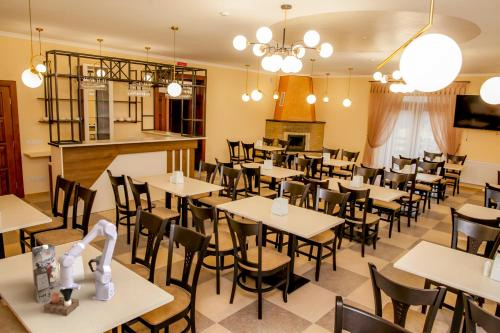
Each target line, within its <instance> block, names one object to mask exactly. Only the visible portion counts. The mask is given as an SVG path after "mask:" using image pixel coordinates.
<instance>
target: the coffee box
mask: <svg viewBox="0 0 500 333" xmlns="http://www.w3.org/2000/svg"><path fill="white" fill-rule="evenodd" d="M33 275H34V282H33V287H34V288H33V289H34V297H35V299H36V301H37V303H39V304H40V303H43V302H47V301H50V300H52V293H51V289H50V272H49V271H48V269H47V268H46V267H42V268H38V269H35V270H33V269H32V276H33Z"/></svg>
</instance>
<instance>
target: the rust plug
mask: <svg viewBox="0 0 500 333" xmlns="http://www.w3.org/2000/svg"><path fill="white" fill-rule="evenodd" d="M59 297H60V291H58V292H57V291H56V292H52V293H51V301H52V304H58V303H59Z"/></svg>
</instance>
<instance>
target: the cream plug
mask: <svg viewBox="0 0 500 333" xmlns="http://www.w3.org/2000/svg"><path fill="white" fill-rule="evenodd" d="M70 305H71V299H70V300H69V301H68V302H67V301H65V300H64V306H70Z"/></svg>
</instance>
